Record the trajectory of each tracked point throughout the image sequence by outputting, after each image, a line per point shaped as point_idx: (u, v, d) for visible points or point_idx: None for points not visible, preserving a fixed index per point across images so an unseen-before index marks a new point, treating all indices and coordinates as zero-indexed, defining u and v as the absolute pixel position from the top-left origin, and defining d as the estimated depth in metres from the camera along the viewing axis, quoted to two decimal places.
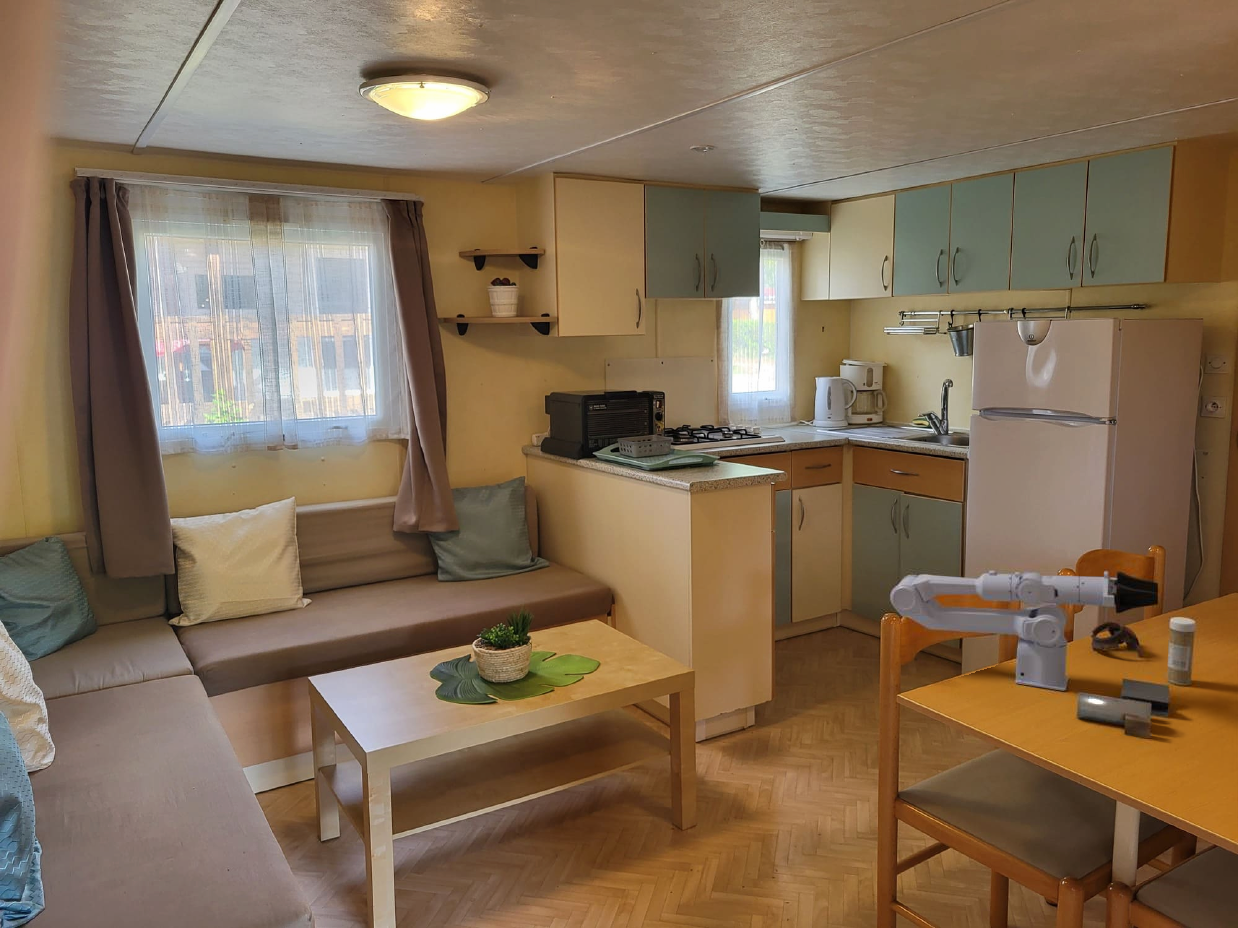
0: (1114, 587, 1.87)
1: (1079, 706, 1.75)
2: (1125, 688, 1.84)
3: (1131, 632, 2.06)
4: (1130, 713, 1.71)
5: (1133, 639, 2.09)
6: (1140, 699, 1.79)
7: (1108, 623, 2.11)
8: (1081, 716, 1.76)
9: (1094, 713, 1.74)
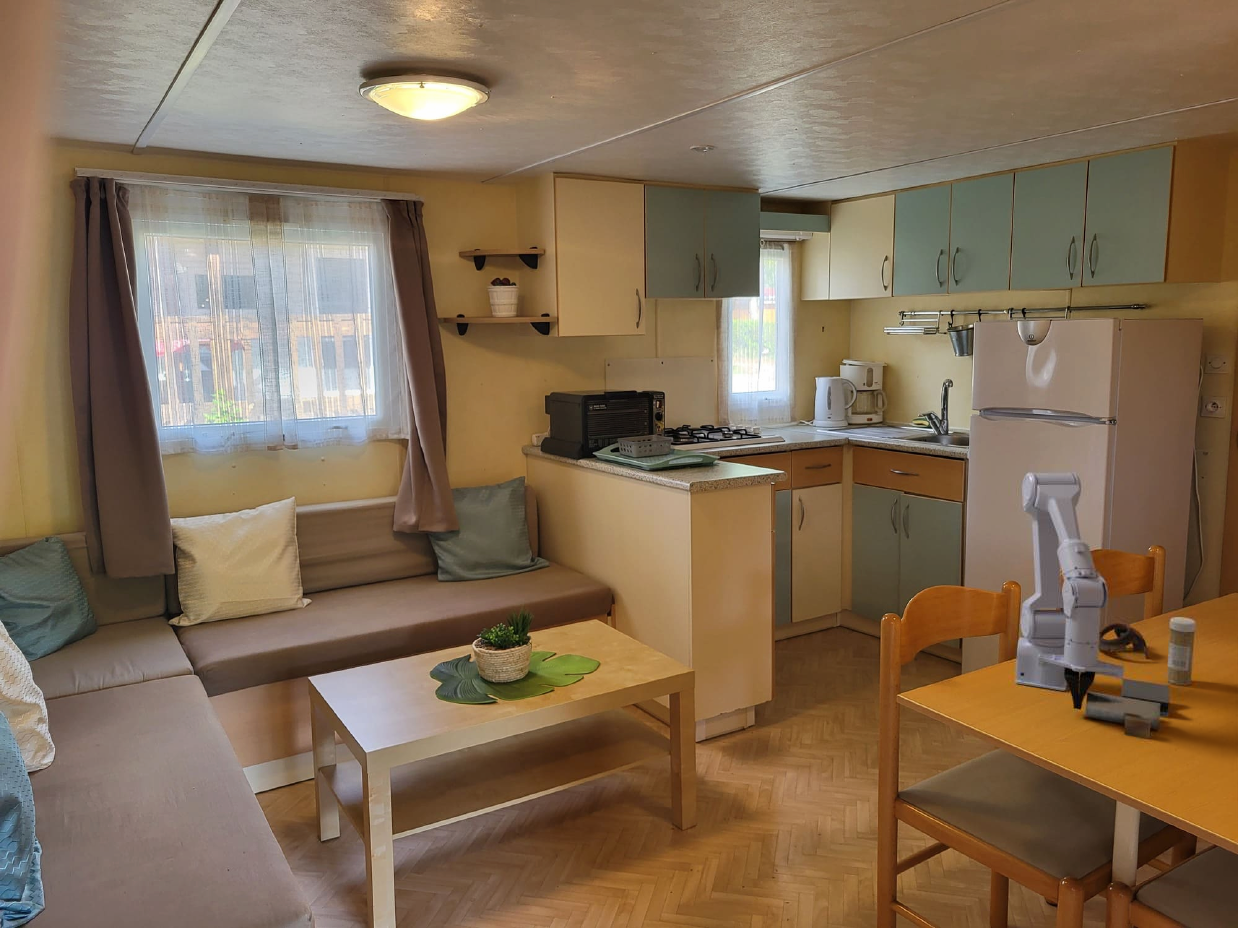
0: (1091, 671, 1.75)
1: (1088, 703, 1.75)
2: (1125, 688, 1.84)
3: (1138, 633, 2.05)
4: (1139, 710, 1.71)
5: (1140, 640, 2.08)
6: (1140, 699, 1.79)
7: (1115, 624, 2.10)
8: (1090, 714, 1.75)
9: (1103, 710, 1.74)
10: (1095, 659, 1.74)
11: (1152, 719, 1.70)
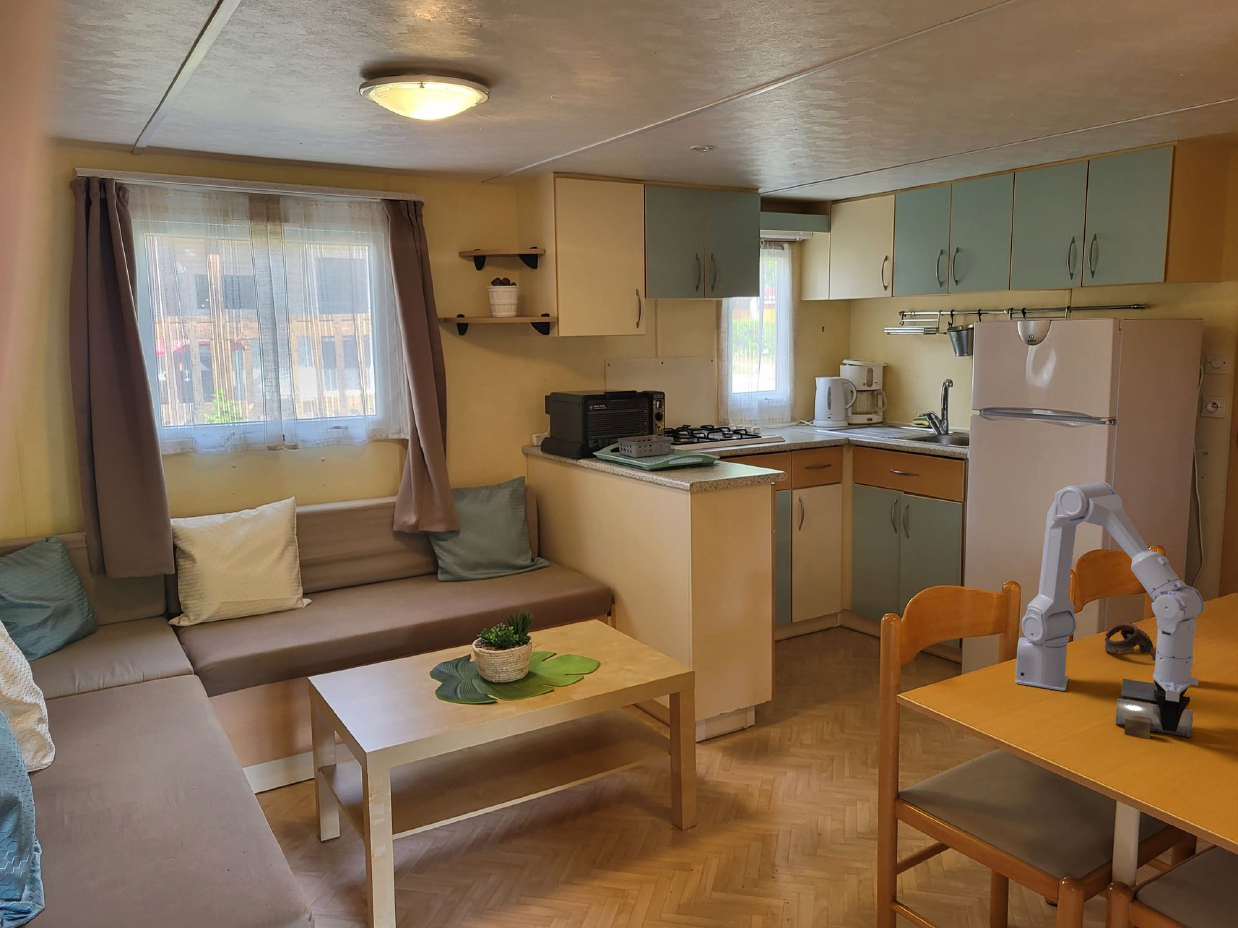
0: None
1: (1118, 713, 1.72)
2: (1125, 688, 1.84)
3: (1145, 635, 2.05)
4: None
5: (1147, 642, 2.07)
6: (1140, 699, 1.79)
7: (1121, 626, 2.09)
8: (1120, 723, 1.73)
9: None
10: None
11: (1184, 729, 1.67)
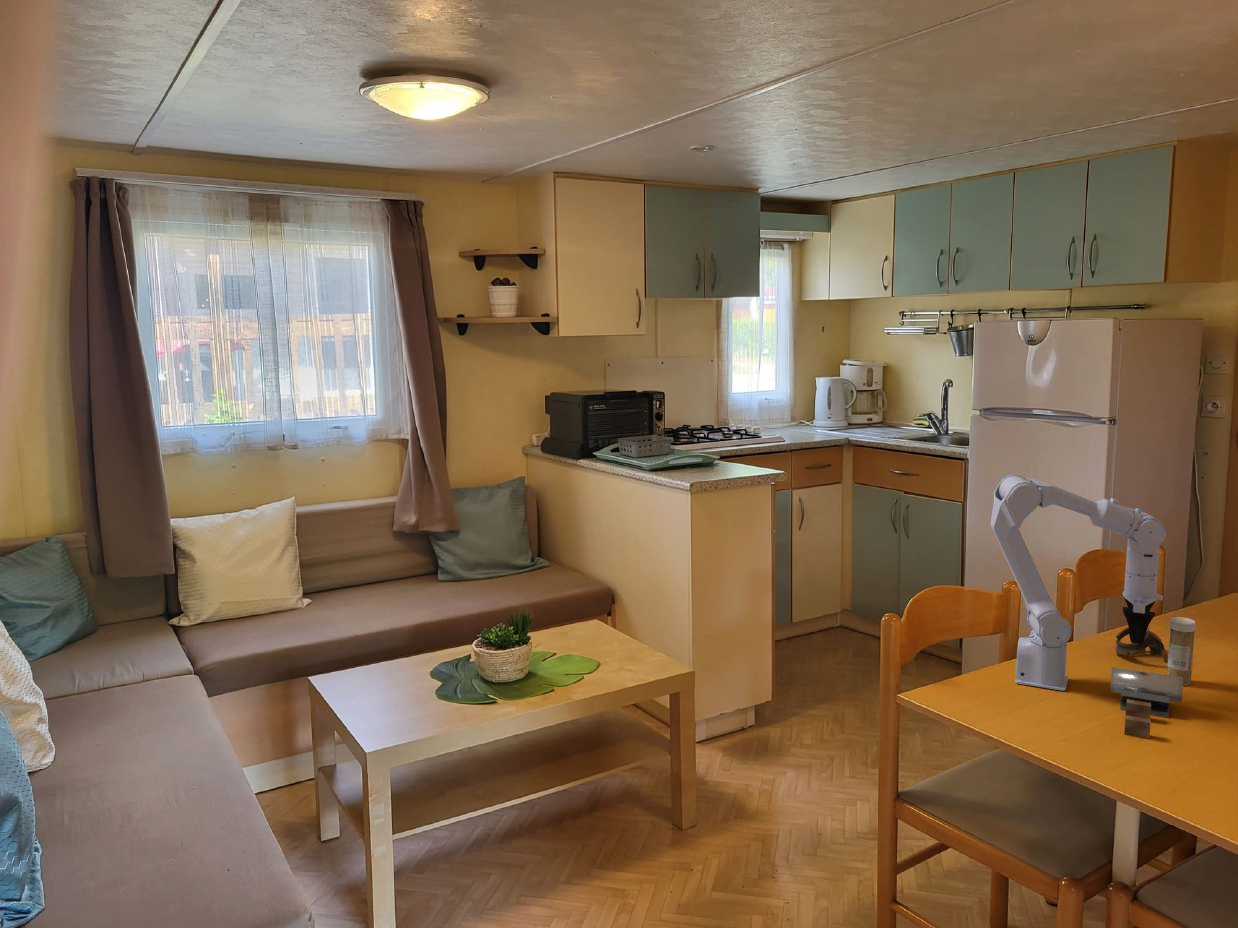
0: None
1: (1112, 680, 1.81)
2: None
3: (1157, 637, 2.03)
4: (1162, 686, 1.77)
5: (1157, 644, 2.05)
6: (1140, 699, 1.79)
7: None
8: (1114, 690, 1.82)
9: (1127, 686, 1.80)
10: None
11: (1175, 695, 1.76)
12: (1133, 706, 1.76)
